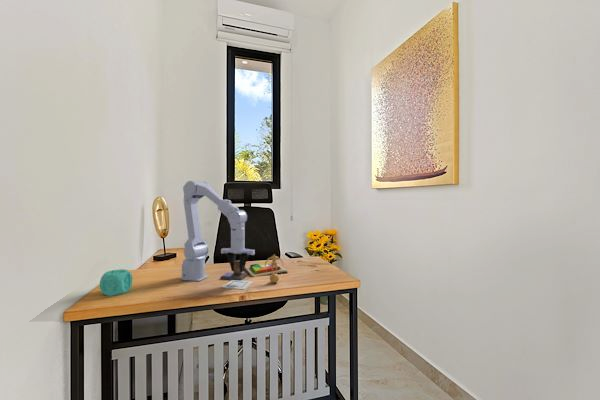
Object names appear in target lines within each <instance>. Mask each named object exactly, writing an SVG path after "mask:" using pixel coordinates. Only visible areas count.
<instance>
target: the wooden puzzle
mask: <svg viewBox="0 0 600 400" xmlns="http://www.w3.org/2000/svg"><path fill="white" fill-rule="evenodd" d="M265 263H266V261H265V262H261V263H260V262H259V263H253V264H250V266H246V265H245V268H244V270H246V271H247V272H248V273H249V275H250V277H252V278H257V277H263V276H265V277H266V276H271V275H272V267H271V263H273V262H272V260H271V261H267V263H266V266H265ZM275 269H276V267H275V265H274V267H273V273H274V274H275ZM276 273H277V274H279V273H286V274H288V273H289V271H288V270H287V269H286V268H284V267H283V266H282V265H280V264H279V263H277V270H276Z"/></svg>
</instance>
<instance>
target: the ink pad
mask: <svg viewBox="0 0 600 400" xmlns="http://www.w3.org/2000/svg"><path fill="white" fill-rule="evenodd" d="M233 273H234V272H226V273H225V274H223V275H221V276H220V277H219V279H220V280H230V281H231V280H240V281H243V280H244V279H245V278H247V277H248V274H247V273H244V276H243V277H242V278H231V275H232V274H233Z"/></svg>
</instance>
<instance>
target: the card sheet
mask: <svg viewBox="0 0 600 400" xmlns="http://www.w3.org/2000/svg"><path fill="white" fill-rule="evenodd" d="M253 282H254V281H252V280H241V281H240V280H230V281H228V282H227V283H225V284H224V285H222V286H221V288H223V289H235V290H246V289H247V287H249V286H250V285H251V284H253Z"/></svg>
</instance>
